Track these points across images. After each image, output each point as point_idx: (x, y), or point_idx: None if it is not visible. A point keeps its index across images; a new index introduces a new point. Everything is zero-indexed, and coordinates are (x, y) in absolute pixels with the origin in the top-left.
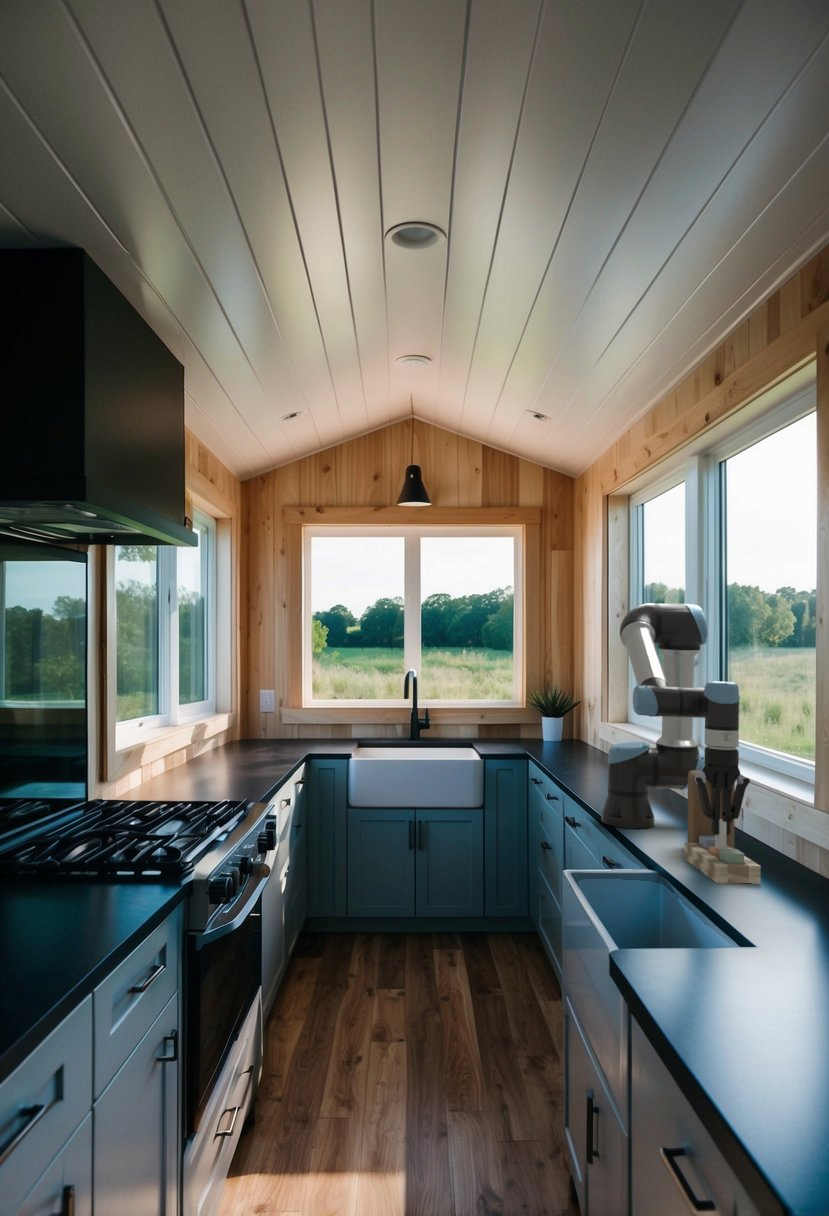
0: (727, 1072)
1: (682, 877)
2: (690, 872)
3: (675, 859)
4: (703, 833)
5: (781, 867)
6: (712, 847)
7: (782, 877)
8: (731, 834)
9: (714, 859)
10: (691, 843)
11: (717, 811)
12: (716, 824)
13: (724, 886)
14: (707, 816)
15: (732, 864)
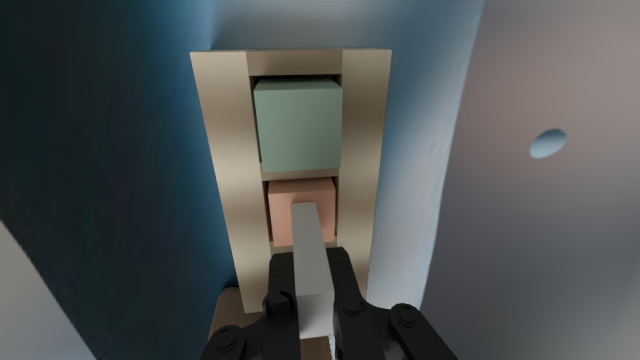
0: None
1: (442, 108)
2: (393, 159)
3: (377, 259)
4: (302, 344)
5: (95, 239)
6: (323, 238)
7: (107, 140)
8: None
9: (358, 135)
10: None
11: (365, 355)
12: (345, 284)
13: (354, 12)
14: (419, 312)
15: (314, 67)
